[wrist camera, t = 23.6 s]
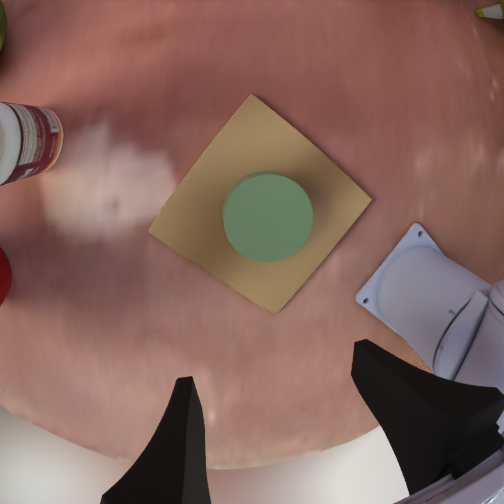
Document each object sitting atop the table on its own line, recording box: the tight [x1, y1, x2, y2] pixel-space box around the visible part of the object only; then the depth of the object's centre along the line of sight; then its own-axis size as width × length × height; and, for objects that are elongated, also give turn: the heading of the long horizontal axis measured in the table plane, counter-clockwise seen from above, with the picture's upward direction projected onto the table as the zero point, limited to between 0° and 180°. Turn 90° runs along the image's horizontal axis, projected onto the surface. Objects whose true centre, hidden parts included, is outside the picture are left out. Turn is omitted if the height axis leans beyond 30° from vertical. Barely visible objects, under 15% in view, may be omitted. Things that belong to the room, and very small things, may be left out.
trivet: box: [147, 94, 372, 315], centre depth 21 cm, size 11×11×1 cm
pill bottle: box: [0, 102, 64, 186], centre depth 13 cm, size 5×5×8 cm
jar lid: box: [222, 171, 313, 262], centre depth 20 cm, size 6×5×2 cm
